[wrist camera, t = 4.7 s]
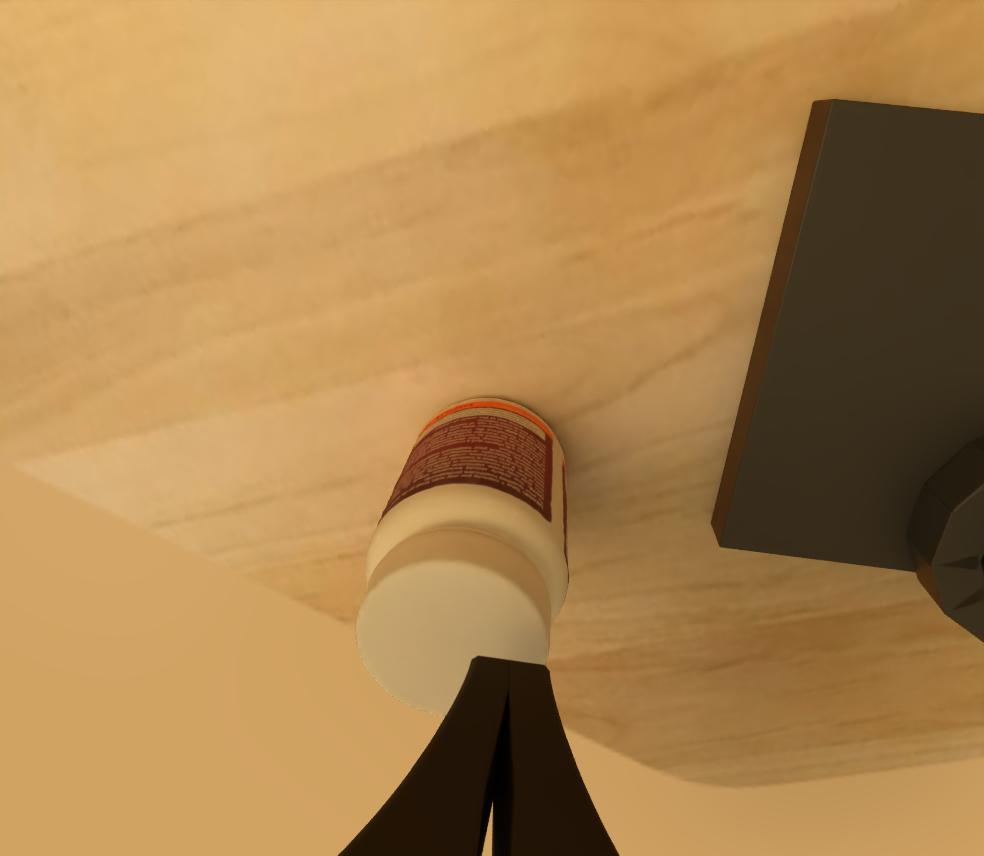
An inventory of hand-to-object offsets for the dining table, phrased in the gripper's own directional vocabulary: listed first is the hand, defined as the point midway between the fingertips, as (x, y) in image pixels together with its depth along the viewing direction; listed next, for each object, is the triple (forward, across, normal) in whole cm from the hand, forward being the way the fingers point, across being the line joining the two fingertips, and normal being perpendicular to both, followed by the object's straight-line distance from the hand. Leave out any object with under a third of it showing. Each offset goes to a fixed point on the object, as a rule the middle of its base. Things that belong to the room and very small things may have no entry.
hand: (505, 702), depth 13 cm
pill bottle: (+10, +1, 0) cm, 10 cm away
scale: (+10, -11, -5) cm, 15 cm away
